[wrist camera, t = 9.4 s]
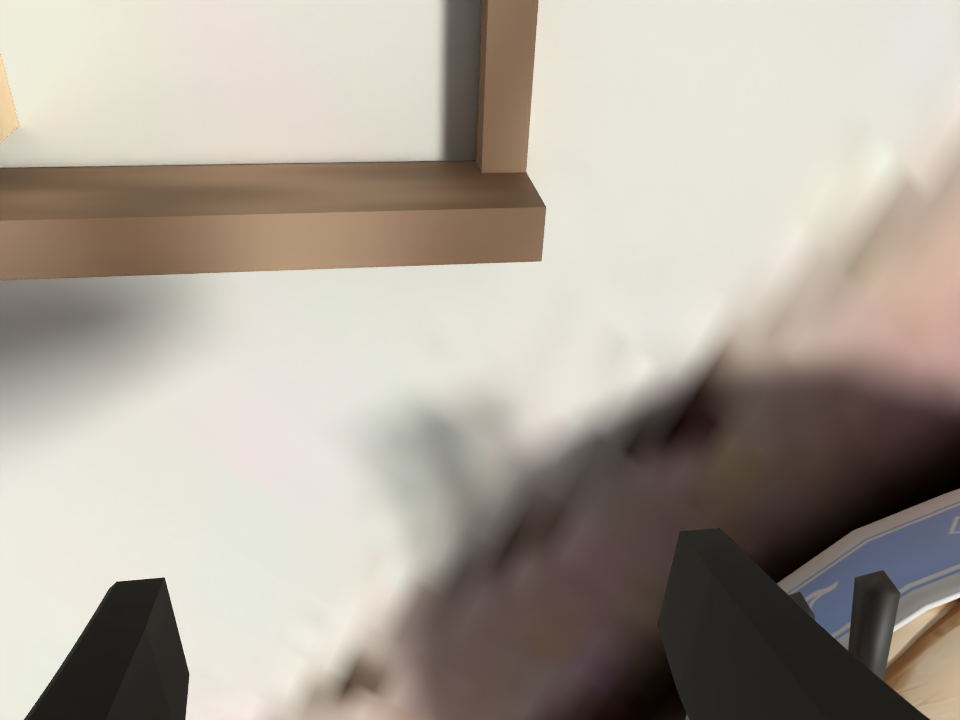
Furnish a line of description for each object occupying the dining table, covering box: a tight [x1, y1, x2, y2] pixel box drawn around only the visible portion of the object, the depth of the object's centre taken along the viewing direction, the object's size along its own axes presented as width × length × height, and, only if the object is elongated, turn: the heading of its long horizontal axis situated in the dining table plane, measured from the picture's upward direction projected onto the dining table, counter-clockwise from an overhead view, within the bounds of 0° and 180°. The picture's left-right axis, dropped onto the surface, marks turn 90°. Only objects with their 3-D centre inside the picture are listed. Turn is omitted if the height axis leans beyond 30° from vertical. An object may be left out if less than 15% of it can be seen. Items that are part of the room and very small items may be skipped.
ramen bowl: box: [685, 489, 960, 720], centre depth 27 cm, size 25×23×8 cm
